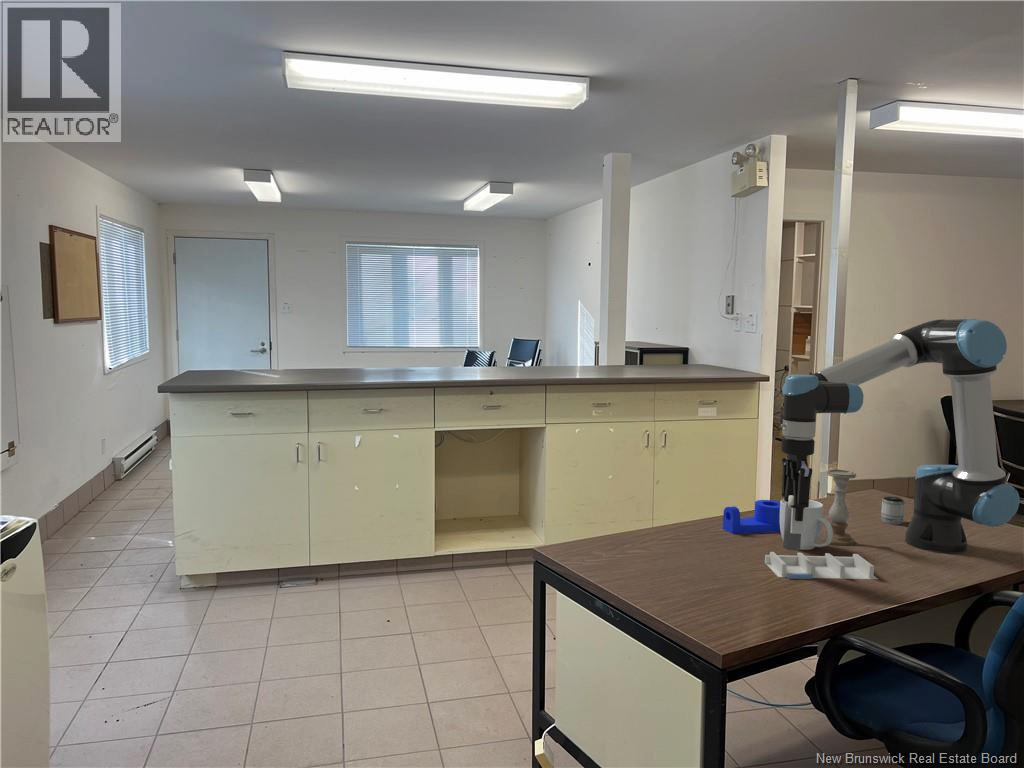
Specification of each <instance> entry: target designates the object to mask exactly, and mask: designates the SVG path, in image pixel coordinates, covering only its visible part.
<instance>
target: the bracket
mask: <svg viewBox="0 0 1024 768" xmlns="http://www.w3.org/2000/svg"><path fill="white" fill-rule="evenodd" d="M722 515H723V516H722V517H723V518H722V530H724V531H725V532H728V533H730V534H732V535H733V534H753V533H754V534H755V533H779V532H780V533H781V531H780V501H778V500H772V499H759V500H756V501H754V513H753V515H754V516H751V517H744V518H741V512H740V509H739V508H738V507H737V506H725V507H724V509H723V514H722Z"/></svg>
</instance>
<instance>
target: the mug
mask: <svg viewBox="0 0 1024 768" xmlns="http://www.w3.org/2000/svg"><path fill="white" fill-rule="evenodd" d="M779 502H780V535H781V539H782V540H783V539H784V513H785V502H786V501H785V500H784V498H781V499H780V501H779ZM830 522H831V521H830V520H828V519H827V518H825V517H824V505H823V503H821V502H819V501H816V500H813V499H809V507H808V508H804V519H803V534H801V545H800V550H803V551H806V550H807V551H810V550H813V549H815V548H823V547H827V546H828V545H831V544H830V542H831V541H832V538H833V530H832V526H831V524H830ZM823 525H825V527H826V530H827V531H826V532H828V537H827V540H826V542H823V543H819V540H820V538H821V535H822V530H823V529H822V528H823ZM800 550H799V551H800Z"/></svg>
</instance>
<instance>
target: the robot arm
mask: <svg viewBox="0 0 1024 768" xmlns="http://www.w3.org/2000/svg"><path fill="white" fill-rule="evenodd" d="M1007 346H1008V345H1007V339H1006V336H1005V333H1004V332H1003V331H1002V329H1001V328H1000V326H998V325H996V324H995V323H994V322H991V321H988V320H982V319H981V320H980V319H975V318H968V319H967V318H963V319H958V318H957V319H933V320H930V321H925V322H923V323H920V324H918V325H915V326H913V327H909V328H908V329H905V330H902V331H900V332H898V333H896V334H894V335H892V336H891V337H890V338H889V341H887V342H884V343H882V344H879V345H878V346H875V347H873V348H870V349H868V350H866V351H863V352H861V353H859V354H857V355H854V356H852V357H849V358H847V359H845V360H842V361H840V362H837V363H836V364H833V365H831V366H828V367H826V368H824V369H821V370H819V371H817V372H814V373H812V374H800V373H799V374H796V373H795V374H789V375H787V376H786V377H785V380H784V382H785V383H784V384H783V386H782V396H783V407H782V408H783V410H782V412H783V413H782V423H781V424H780V427H781V428H782V431H781V432H782V433H781V434H782V436H783V437H782V438H781V445H780V448H781V452H782V453H784V454H786V455H787V456H786V457H782V458H781V462H782V463H781V464H782V480H781V482H782V483H781V497H783V499H784V500H785V501H786V502H785V507H788V500H789V495H793V496H794V505H791V508H792V513H791V531H790V533H793V534H803V519H804V508H808V507H809V500H810V491H811V482H812V481H811V480H812V479H811V478H812V475H813V468H810V467H809V465H808V456H812V455H814V454H815V443H816V442H815V440H814V438H815V437H816V428H817V414H844V415H846V414H853V413H857V412H858V411H860V410H861V408H862V407H863V404H864V392H863V389H862V388H861V386H859V385H862V384H865V383H866V382H868V381H871V380H874V379H876V378H877V377H880V376H882V375H885V374H887V373H890V372H892V371H894V370H896V369H899V368H902V367H904V368H912V367H913V366H916V365H919V364H925V363H928V364H929V363H936V364H937V363H938V364H941V365H942V374H943V375H944V376H945V377H946V378H948V379H949V381H950V386H951V389H950V391H951V398H952V399H951V400H952V409H953V421H954V429H955V430H954V431H955V441H956V443H955V444H956V451H957V452H956V453H957V461H958V462H957V465H956V464H940V463H939V464H922V465H919V466H918V467H917V469H916V474H915V478H914V495H913V496H914V498H913V499H914V500H913V515H912V517H911V520H910V521H909V524H908V526H907V527H906V530H905V533H904V541H905V542H906V543H907V544H909V545H911V546H913V547H916V548H918V549H923V550H927V551H931V552H935V553H936V552H937V553H945V554H946V553H947V554H955V553H956V554H957V553H958V554H959V553H964V552H966V551H967V549H968V539H967V536H966V533H965V531H964V527H963V523H962V518H963V519H965V520H968V521H970V522H973V523H975V524H978V525H984V526H988V527H992V528H993V527H996V528H997V527H1000V526H1003V525H1005V524H1007V523H1008V522H1009V521H1011V520H1012V519H1013V517H1014V516H1015V515H1016V514H1017V512H1018V509H1019V506H1020V495H1019V492H1018V490H1017V489H1016V488H1015V487H1013V486H1012V485H1010V484H1009V483H1007V475H1006V471H1005V470H1003V469H1002V468H1001V467H999V464H998V453H997V452H998V451H997V443H996V440H997V439H996V430H995V428H996V427H995V418H994V406H993V395H992V385H991V384H992V383H991V377H992V375H994V373H996V372H997V365H998V364H999V363H1001V362H1002V360H1003V359H1004V355H1006V353H1007ZM784 522H785V513H784Z"/></svg>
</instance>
